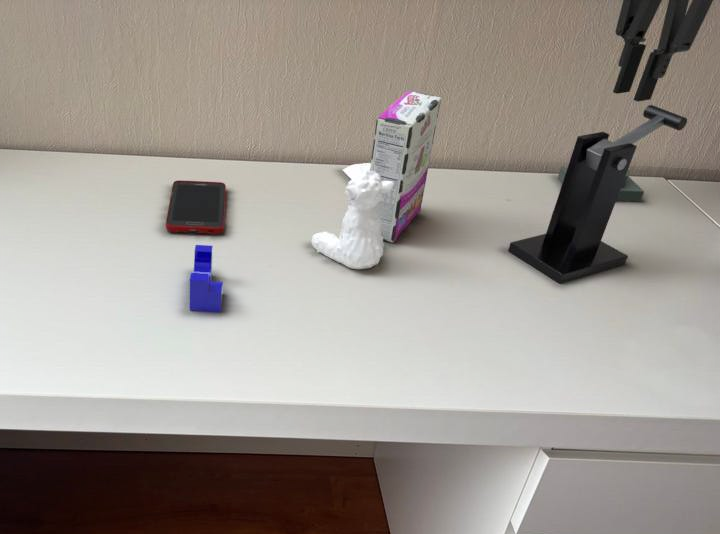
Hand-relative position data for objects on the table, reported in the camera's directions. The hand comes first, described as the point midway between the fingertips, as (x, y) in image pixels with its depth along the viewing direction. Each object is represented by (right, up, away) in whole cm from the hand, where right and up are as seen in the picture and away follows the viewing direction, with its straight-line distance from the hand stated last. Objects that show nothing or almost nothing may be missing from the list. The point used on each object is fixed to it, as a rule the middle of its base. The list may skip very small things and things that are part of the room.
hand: (631, 95), depth 108 cm
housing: (-1, -12, +9) cm, 15 cm away
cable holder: (-60, -30, -20) cm, 71 cm away
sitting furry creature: (-42, -25, -12) cm, 50 cm away
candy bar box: (-36, -19, -4) cm, 41 cm away
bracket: (-14, -25, -10) cm, 30 cm away
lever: (-9, -12, -16) cm, 22 cm away
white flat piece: (-36, -13, +5) cm, 38 cm away
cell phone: (-63, -17, -3) cm, 65 cm away
